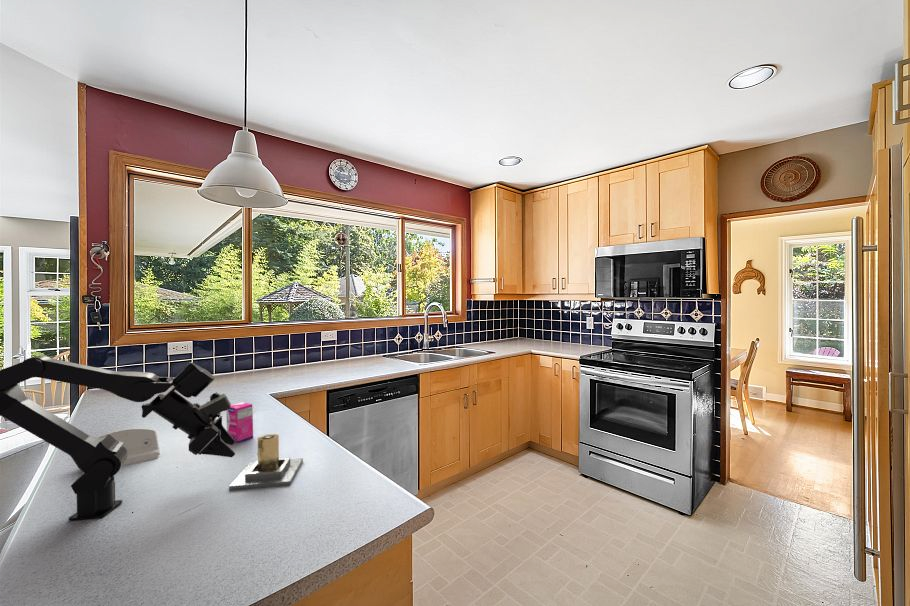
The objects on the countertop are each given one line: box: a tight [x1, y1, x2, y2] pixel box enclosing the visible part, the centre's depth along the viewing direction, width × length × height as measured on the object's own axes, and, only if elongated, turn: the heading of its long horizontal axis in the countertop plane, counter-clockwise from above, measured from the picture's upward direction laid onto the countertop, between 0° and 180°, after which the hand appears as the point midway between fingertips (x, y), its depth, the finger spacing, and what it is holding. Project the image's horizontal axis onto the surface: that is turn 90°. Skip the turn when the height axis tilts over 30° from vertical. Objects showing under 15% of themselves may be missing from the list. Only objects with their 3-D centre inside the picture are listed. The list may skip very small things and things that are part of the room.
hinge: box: [96, 428, 161, 467], centre depth 111 cm, size 17×5×10 cm, turn 126°
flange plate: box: [228, 457, 304, 491], centre depth 101 cm, size 14×14×2 cm
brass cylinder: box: [256, 433, 280, 472], centre depth 101 cm, size 5×5×9 cm
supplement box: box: [225, 401, 254, 444], centre depth 128 cm, size 6×6×12 cm
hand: (233, 449), depth 97 cm, fingers open, 9 cm apart
